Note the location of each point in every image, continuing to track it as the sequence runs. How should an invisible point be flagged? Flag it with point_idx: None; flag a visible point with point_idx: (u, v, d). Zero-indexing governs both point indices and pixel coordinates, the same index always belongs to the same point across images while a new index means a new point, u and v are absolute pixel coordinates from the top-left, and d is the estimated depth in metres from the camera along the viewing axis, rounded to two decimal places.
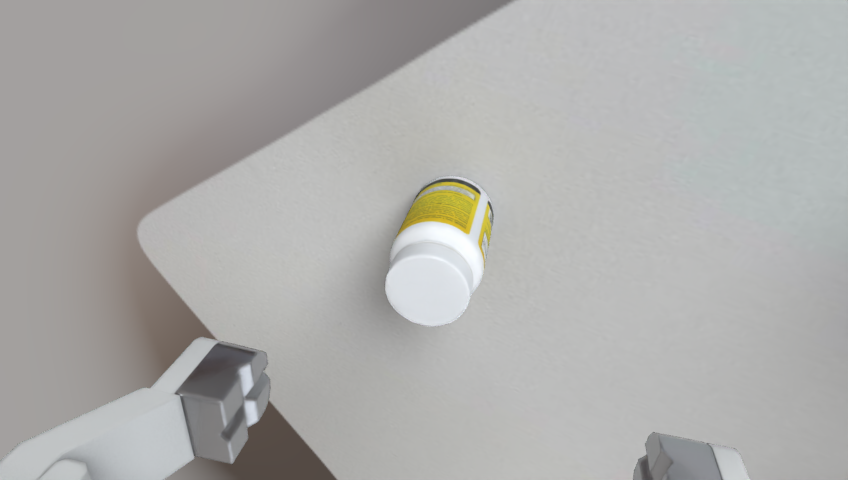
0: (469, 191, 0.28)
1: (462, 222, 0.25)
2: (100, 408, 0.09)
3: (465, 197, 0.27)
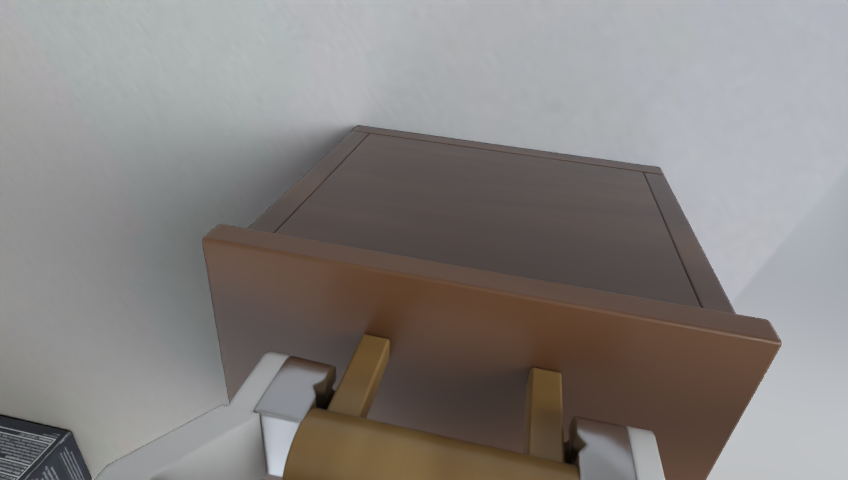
0: None
1: None
2: (181, 427, 0.09)
3: None
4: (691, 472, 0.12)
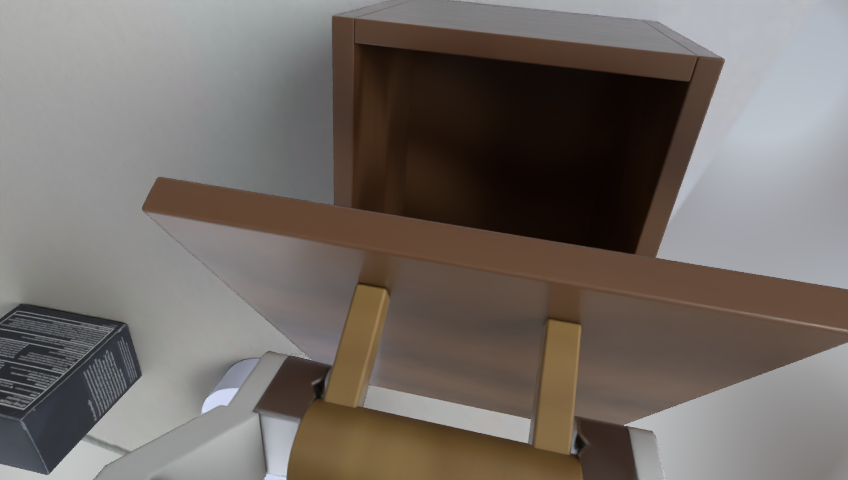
0: None
1: None
2: (181, 427, 0.09)
3: None
4: (717, 381, 0.12)
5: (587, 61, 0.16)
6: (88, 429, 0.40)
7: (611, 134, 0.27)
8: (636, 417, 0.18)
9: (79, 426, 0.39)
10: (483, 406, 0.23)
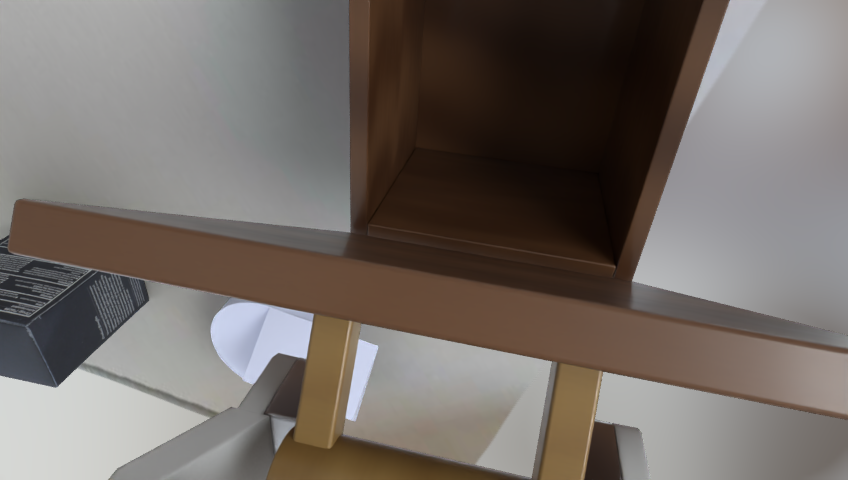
0: None
1: None
2: (192, 430, 0.09)
3: None
4: None
5: None
6: (96, 347, 0.40)
7: (642, 0, 0.25)
8: None
9: (86, 342, 0.39)
10: None
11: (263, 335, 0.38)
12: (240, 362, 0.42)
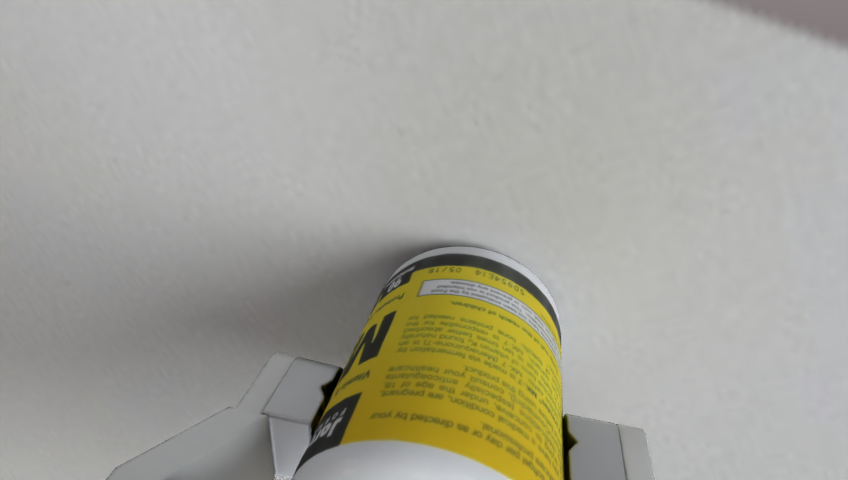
0: (560, 355, 0.11)
1: None
2: (190, 430, 0.09)
3: (559, 380, 0.11)
4: None
5: None
6: None
7: None
8: None
9: None
10: None
11: None
12: None
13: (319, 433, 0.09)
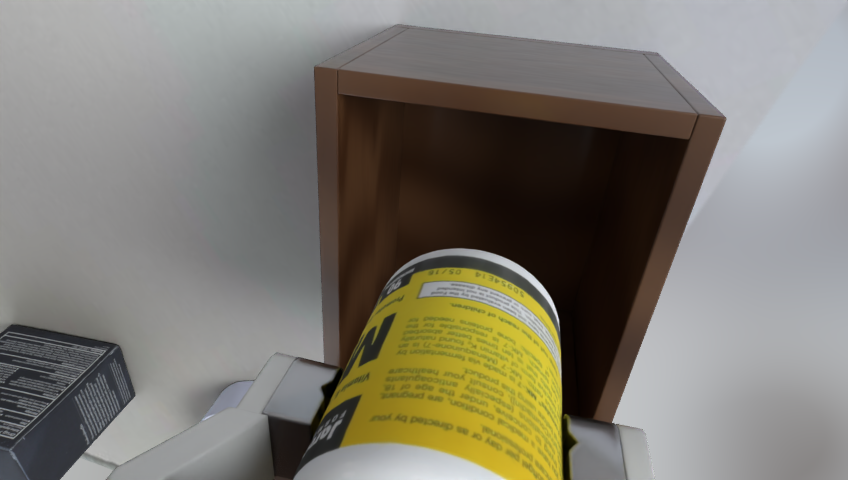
0: (559, 357, 0.11)
1: None
2: (190, 429, 0.09)
3: (559, 382, 0.11)
4: None
5: (581, 117, 0.16)
6: (80, 453, 0.40)
7: (609, 166, 0.26)
8: None
9: (71, 451, 0.39)
10: None
11: None
12: None
13: (319, 435, 0.09)
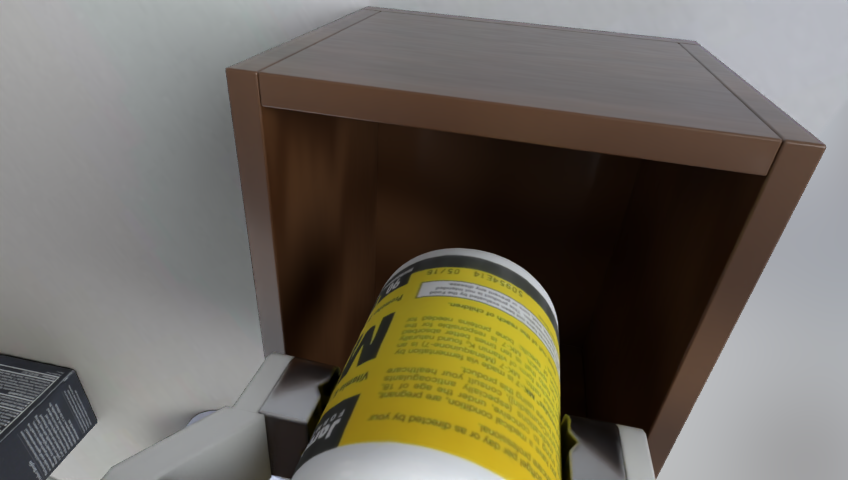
0: (558, 356, 0.11)
1: None
2: (186, 429, 0.09)
3: (557, 381, 0.11)
4: None
5: (607, 142, 0.11)
6: None
7: (630, 182, 0.21)
8: None
9: None
10: None
11: None
12: None
13: (317, 435, 0.09)
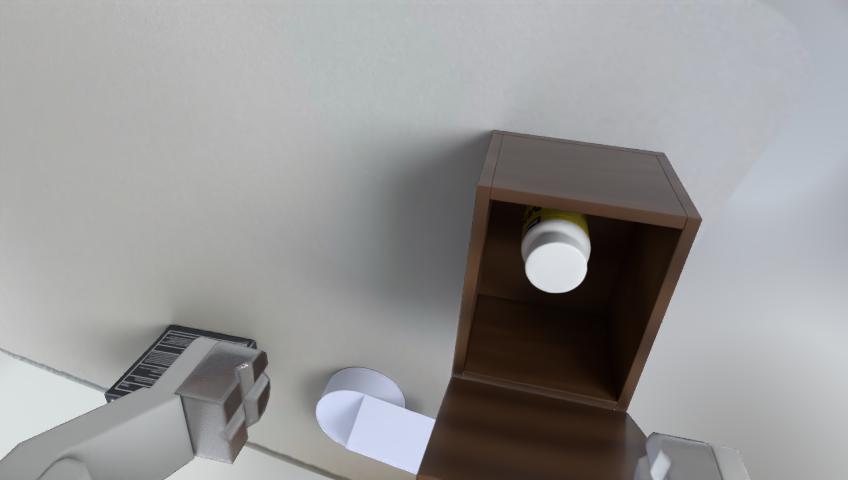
0: (586, 217, 0.39)
1: None
2: (100, 408, 0.09)
3: None
4: None
5: (625, 216, 0.29)
6: None
7: (632, 222, 0.40)
8: None
9: None
10: None
11: (360, 415, 0.52)
12: (336, 430, 0.56)
13: (531, 224, 0.36)
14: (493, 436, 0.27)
